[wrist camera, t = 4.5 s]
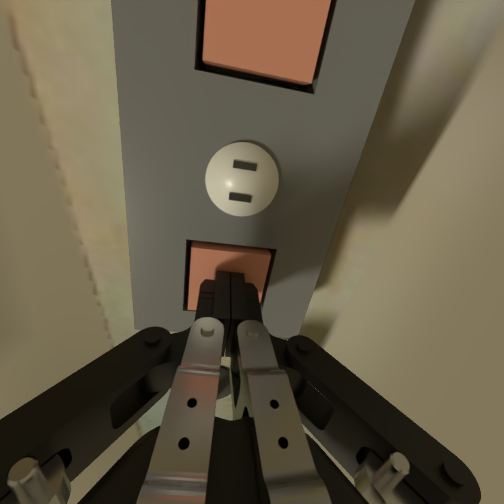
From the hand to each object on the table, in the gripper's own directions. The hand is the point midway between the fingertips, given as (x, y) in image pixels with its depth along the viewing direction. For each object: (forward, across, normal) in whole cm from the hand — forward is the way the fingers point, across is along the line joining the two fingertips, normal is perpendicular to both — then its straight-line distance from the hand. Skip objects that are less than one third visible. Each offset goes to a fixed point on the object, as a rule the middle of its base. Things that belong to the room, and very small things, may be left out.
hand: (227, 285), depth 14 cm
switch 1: (+2, 0, -12) cm, 12 cm away
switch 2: (+2, 0, 0) cm, 2 cm away
